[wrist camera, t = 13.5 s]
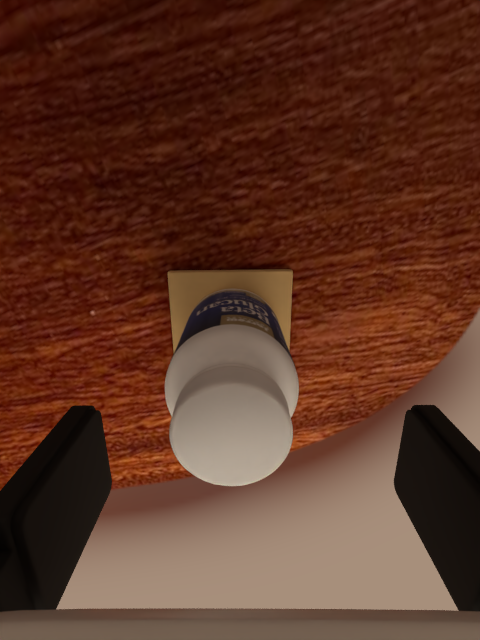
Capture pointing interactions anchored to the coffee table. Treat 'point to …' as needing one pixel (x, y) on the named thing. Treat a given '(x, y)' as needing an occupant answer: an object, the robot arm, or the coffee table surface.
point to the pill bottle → (231, 390)
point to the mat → (201, 283)
